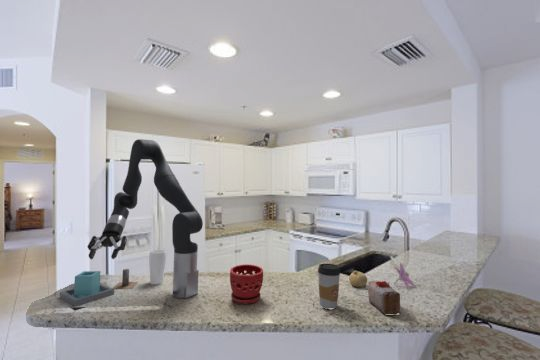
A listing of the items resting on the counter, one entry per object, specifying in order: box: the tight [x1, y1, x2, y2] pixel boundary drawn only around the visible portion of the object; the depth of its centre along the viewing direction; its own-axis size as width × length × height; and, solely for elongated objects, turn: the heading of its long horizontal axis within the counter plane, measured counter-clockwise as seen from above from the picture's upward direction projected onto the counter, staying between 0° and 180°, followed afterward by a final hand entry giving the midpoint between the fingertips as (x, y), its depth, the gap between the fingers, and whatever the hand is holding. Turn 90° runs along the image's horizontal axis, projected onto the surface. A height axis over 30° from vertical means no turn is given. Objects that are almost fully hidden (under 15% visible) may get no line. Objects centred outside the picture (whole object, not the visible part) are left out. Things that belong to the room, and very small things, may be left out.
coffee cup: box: [317, 263, 341, 309], centre depth 100 cm, size 8×8×15 cm
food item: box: [367, 280, 401, 315], centre depth 100 cm, size 14×8×10 cm, turn 6°
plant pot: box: [229, 264, 264, 305], centre depth 104 cm, size 13×13×12 cm
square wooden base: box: [112, 268, 139, 290], centre depth 112 cm, size 8×8×8 cm
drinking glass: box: [148, 249, 167, 285], centre depth 117 cm, size 7×7×15 cm
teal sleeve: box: [73, 270, 101, 298], centre depth 100 cm, size 6×8×9 cm
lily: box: [393, 262, 416, 290], centre depth 123 cm, size 12×12×10 cm
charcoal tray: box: [59, 282, 115, 312], centre depth 100 cm, size 13×13×4 cm
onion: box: [348, 270, 368, 288], centre depth 122 cm, size 8×8×7 cm
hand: (101, 258), depth 111 cm, fingers open, 8 cm apart
